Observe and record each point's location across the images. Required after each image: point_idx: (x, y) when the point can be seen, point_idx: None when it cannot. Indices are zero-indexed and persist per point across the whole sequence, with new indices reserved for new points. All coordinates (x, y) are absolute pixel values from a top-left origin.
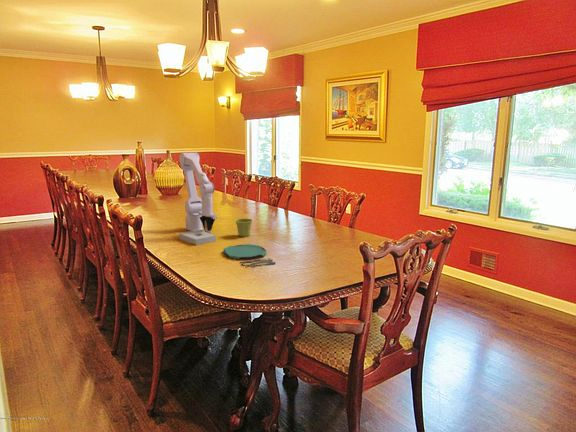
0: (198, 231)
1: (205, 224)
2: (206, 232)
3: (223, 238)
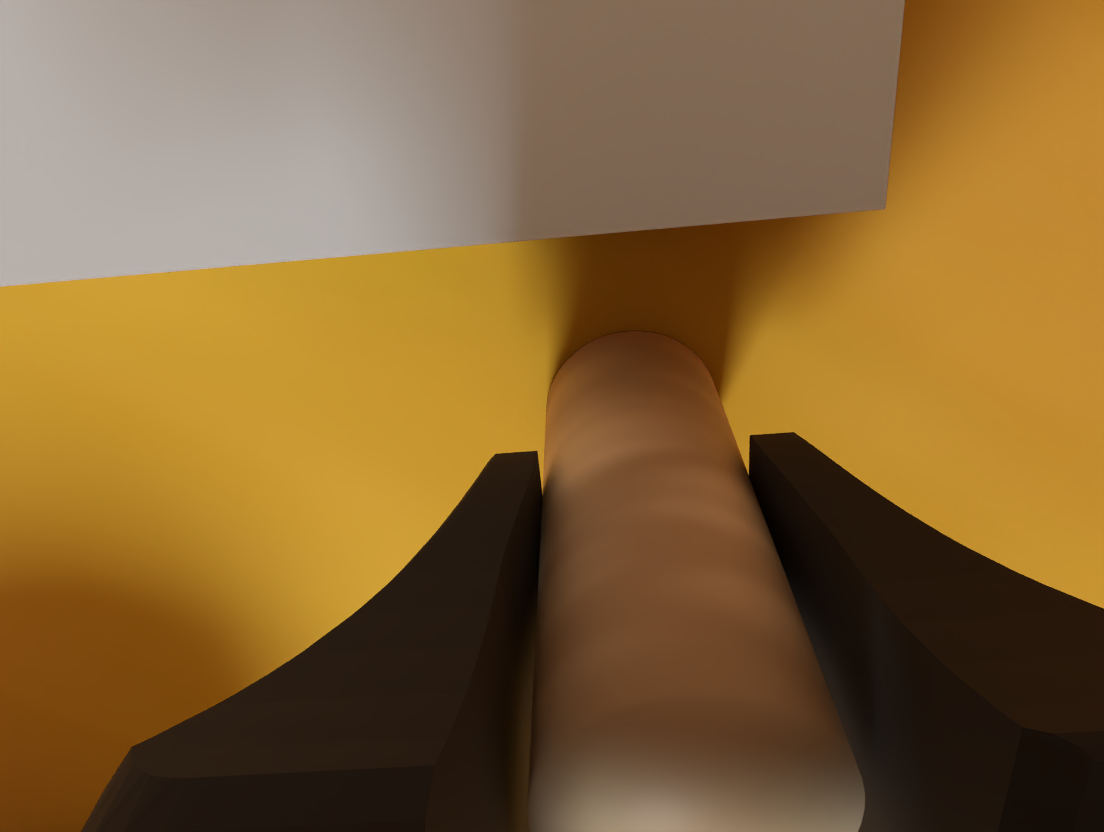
0: (622, 55)
1: (653, 563)
2: (258, 261)
3: (58, 548)
